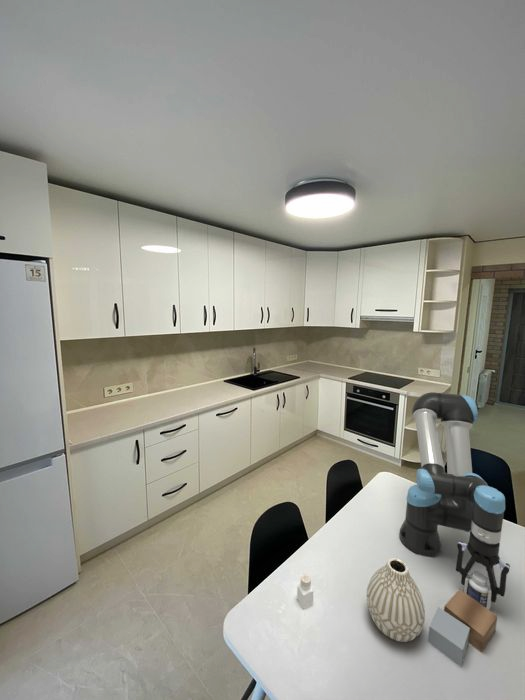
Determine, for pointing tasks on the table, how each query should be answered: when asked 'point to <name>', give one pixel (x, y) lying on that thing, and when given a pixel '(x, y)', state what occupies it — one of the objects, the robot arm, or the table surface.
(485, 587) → the pill bottle
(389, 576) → the vase
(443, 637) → the slate block
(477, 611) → the walnut block
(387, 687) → the table surface
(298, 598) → the pepper shaker
